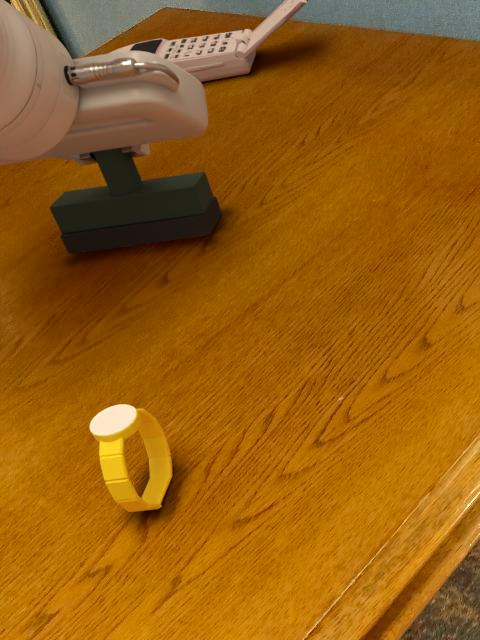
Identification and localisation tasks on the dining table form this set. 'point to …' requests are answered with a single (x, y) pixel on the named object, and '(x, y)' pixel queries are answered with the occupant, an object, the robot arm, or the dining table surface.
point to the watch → (111, 434)
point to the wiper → (134, 208)
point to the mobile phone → (219, 47)
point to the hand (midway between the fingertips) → (116, 150)
